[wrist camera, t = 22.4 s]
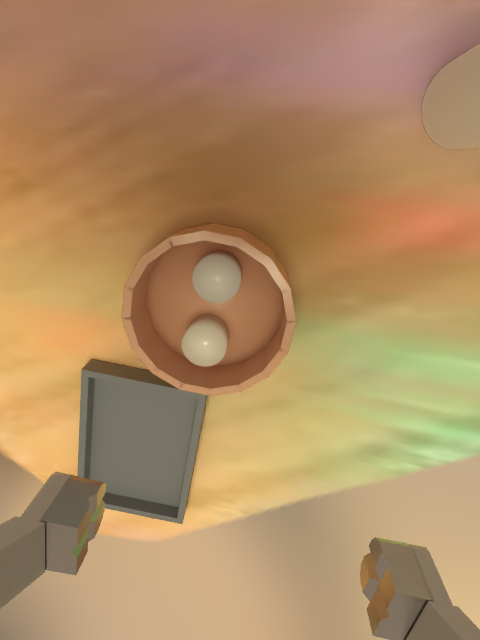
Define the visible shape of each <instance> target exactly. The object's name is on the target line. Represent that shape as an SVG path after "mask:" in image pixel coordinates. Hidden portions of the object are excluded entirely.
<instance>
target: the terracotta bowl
mask: <svg viewBox="0 0 480 640" xmlns="http://www.w3.org/2000/svg"><path fill="white" fill-rule="evenodd" d="M213 250H226V251H228V252H231V253H232V254H234V255H235V256H236V257H237V258H238V260H239V261H240V263H241V266H242V279H241V282H240V286H239V289H238V291H237V293H236V294H235V295H234V296H233V297H232V298H231V299H230V300H228V301H225V302H222V303H213V302H209V301H207V300H205V299H203V298H202V297H201V296H199V294H198V293H197V292H196V290H195V288H194V286H193V282H192V275H193V271H194V269H195V267H196V265H197V264H198V263H199V262H200V260H201V259H202V258H203V257H204V256H205V255H206V254H207V253H209V252H211V251H213ZM206 314H209V315H214V316H217V317H219V318H220V319H222V320H223V321H224V322H225V323H226V325H227V327H228V329H229V340H228V345H227V349H226V353H225V355H224V357H223V359H222V360H221V361H220V362H218V363H217V364H215V365H212V366H207V367H203V366H198V365H196V364H194V363H192V362H190V361H189V360H188V359H187V358H186V356H185V355H184V353H183V350H182V339H183V337H184V335H185V333H186V331H187V329H188V327H189V325H190V324H191V322H192V321H193V320H194V319H195V318H196V317H198V316H201V315H206ZM122 321H123V324H124V327H125V330H126V333H127V336H128V339H129V342H130V345H131V348H132V349H133V351H134V352H135V353H136V354H137V355H138V357H139V358H140V359H141V360H142V362H143V363H144V364H145V365H146V366H147V368H148V369H149V370H150V371H151V372H152V373H153V374H154V375H156V376H158V377H159V378H161V379H163V380H164V381H166V382H168V383H170V384H171V385H173V386H175V387H176V388H178V389H180V390H185V391H189V392H194V393H199V394H204V395H209V396H213V395H220V394H227V393H235V392H242V391H243V390H245V389H247V388H249V387H251V386H253V385H254V384H256V383H258V382H260V381H262V380H263V379H265V378H267V377H269V376H270V374H271V373H272V372H273V371H274V369H275V368H276V367H277V366H278V364H279V363H280V362H281V361H282V359H283V358H284V357H285V356H286V354H287V353H288V351H289V347H290V343H291V339H292V336H293V332H294V328H295V325H296V318H295V312H294V305H293V299H292V293H291V287H290V282H289V277H288V273H287V272H286V270H285V269H284V267H283V266H282V264H281V262H280V261H279V259H278V258H277V256H276V255H275V253H274V252H273V250H272V248H271V247H269V246H268V245H266V244H265V243H263V242H262V241H261V240H259V239H258V238H256V237H255V236H253V235H252V234H250V233H249V232H247V231H246V230H244V229H239V228H235V227H230V226H225V225H220V224H215V223H211V224H206V225H201V226H196V227H191V228H186V229H182V230H180V231H178V232H177V233H175V234H173V235H172V236H170V237H168V238H167V239H166V240H164V241H163V242H162V243H160V244H159V245H157V246H156V247H155V248H153V249H152V250H150V251H149V252H148V253H146V254H145V255H143V256H142V257H141V258H140V259H139V261H138V263H137V265H136V266H135V268H134V270H133V272H132V273H131V275H130V277H129V279H128V281H127V282H126V284H125V286H124V296H123V308H122Z"/></svg>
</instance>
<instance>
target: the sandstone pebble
mask: <svg viewBox="0 0 480 640" xmlns="http://www.w3.org/2000/svg"><path fill="white" fill-rule="evenodd" d="M228 340H229V329H228V327H227V325H226V323H225V322H224V321H223V320H222V319H220V318H219V317H217V316H214V315H209V314H206V315H201V316H198V317H196V318H195V319H194V320H193V321H192V322H191V324H190V325H189V327H188V329H187V331H186V333H185V335H184V337H183V339H182V350H183V353H184V355H185V356H186V358H187V359H188V360H189V361H190V362H192V363H194V364H196V365H198V366H203V367H207V366H212V365H215V364H217V363H218V362H220V361H221V360H222V359H223V357H224V355H225V353H226V349H227V345H228Z"/></svg>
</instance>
